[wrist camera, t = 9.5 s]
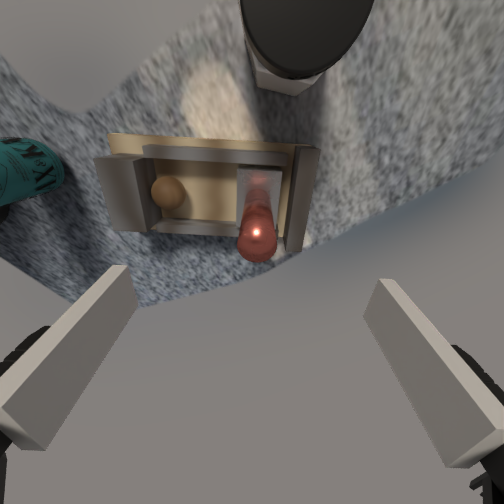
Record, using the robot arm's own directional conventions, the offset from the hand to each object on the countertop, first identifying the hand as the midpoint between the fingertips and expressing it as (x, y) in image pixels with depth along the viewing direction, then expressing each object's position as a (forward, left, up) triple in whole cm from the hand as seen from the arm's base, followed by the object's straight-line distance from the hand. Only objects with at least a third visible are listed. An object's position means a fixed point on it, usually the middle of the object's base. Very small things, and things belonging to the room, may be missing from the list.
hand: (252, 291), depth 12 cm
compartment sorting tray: (-6, 0, -22) cm, 22 cm away
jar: (+2, +15, -22) cm, 27 cm away
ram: (0, 0, -19) cm, 19 cm away
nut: (-10, 0, -20) cm, 22 cm away
